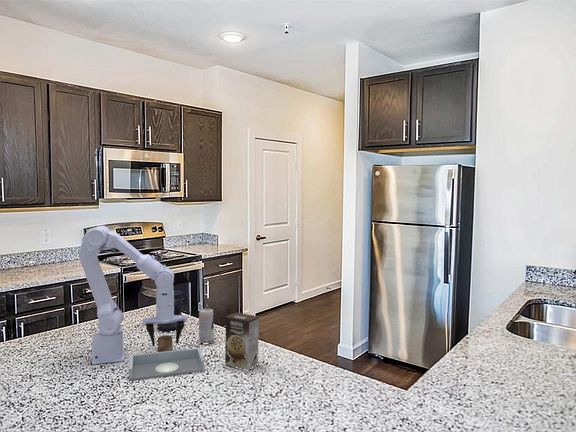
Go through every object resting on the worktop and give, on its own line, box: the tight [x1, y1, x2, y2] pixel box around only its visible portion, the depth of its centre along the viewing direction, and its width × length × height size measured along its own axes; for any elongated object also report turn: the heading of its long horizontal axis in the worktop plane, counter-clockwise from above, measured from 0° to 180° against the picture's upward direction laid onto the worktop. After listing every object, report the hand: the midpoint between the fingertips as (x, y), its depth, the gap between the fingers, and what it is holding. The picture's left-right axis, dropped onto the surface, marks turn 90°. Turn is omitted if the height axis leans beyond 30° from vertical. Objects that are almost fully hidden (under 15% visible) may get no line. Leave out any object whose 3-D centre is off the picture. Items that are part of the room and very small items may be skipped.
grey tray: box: [128, 347, 205, 382], centre depth 130 cm, size 22×11×4 cm, turn 109°
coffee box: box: [224, 312, 260, 371], centre depth 133 cm, size 9×6×16 cm
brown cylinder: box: [157, 334, 173, 352], centre depth 141 cm, size 5×5×6 cm
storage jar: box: [156, 289, 183, 333], centre depth 168 cm, size 10×10×15 cm
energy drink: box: [198, 308, 215, 344], centre depth 153 cm, size 5×5×12 cm
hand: (165, 344), depth 141 cm, fingers open, 7 cm apart
